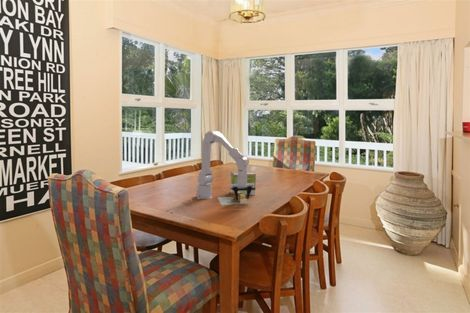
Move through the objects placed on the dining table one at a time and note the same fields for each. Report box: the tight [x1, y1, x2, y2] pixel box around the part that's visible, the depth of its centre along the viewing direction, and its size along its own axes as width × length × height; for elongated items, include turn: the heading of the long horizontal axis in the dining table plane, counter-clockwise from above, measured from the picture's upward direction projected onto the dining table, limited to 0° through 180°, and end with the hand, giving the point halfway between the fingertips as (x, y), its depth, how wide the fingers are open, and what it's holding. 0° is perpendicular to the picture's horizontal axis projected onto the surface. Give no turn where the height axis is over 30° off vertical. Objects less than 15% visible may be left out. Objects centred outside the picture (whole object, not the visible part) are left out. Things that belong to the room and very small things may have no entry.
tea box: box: [229, 171, 257, 196], centre depth 214 cm, size 15×10×15 cm, turn 105°
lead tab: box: [239, 194, 246, 202], centre depth 191 cm, size 3×3×5 cm
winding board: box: [217, 191, 249, 206], centre depth 196 cm, size 16×18×6 cm
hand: (242, 198), depth 191 cm, fingers open, 6 cm apart
